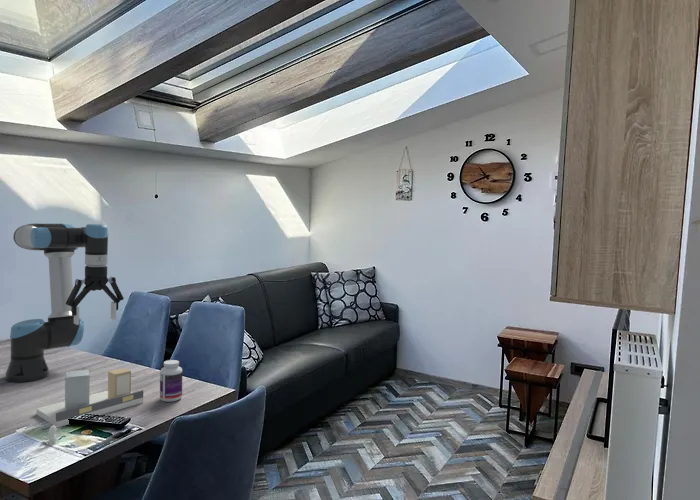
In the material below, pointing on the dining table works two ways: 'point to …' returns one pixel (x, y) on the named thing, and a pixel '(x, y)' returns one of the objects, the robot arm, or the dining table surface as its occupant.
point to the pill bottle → (171, 381)
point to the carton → (119, 382)
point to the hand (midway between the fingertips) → (95, 321)
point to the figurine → (51, 436)
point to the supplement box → (77, 389)
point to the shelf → (89, 407)
